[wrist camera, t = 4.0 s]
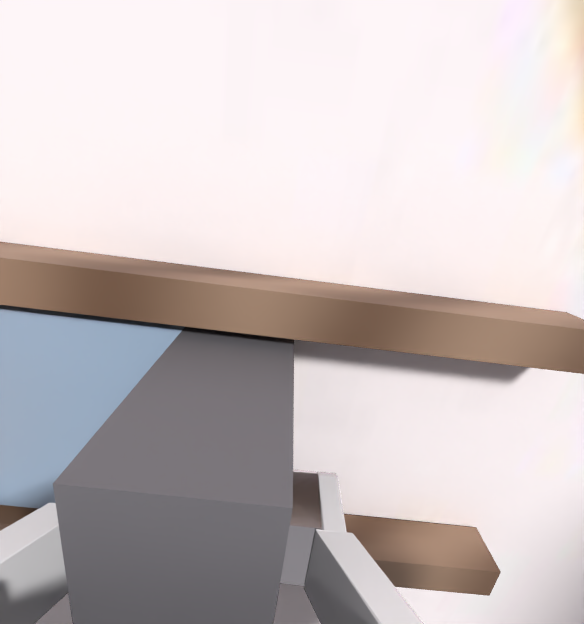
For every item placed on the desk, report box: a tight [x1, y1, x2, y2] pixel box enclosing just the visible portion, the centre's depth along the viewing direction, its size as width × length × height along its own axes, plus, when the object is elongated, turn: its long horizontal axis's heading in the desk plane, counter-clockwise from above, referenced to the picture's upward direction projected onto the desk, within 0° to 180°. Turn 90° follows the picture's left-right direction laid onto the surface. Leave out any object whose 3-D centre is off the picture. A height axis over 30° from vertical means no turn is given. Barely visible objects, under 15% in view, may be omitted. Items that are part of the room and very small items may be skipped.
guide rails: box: [0, 242, 584, 595], centre depth 10 cm, size 24×10×2 cm, turn 83°
